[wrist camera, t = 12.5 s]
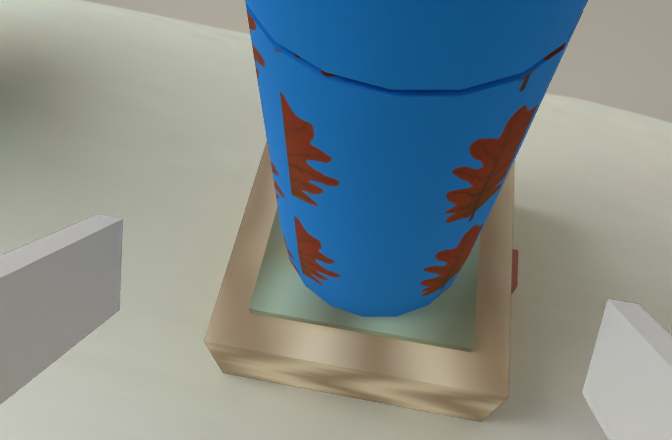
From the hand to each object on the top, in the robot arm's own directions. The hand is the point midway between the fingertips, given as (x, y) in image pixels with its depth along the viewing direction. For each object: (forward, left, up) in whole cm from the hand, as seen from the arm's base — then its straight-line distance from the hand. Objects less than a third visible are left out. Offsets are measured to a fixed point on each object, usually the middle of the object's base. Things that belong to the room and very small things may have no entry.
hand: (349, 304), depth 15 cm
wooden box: (0, +11, -21) cm, 23 cm away
